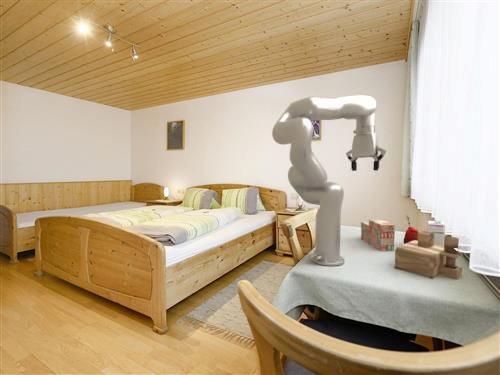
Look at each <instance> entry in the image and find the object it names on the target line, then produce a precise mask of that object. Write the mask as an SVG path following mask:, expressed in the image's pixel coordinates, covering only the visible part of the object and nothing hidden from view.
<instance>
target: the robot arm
mask: <svg viewBox="0 0 500 375" xmlns="http://www.w3.org/2000/svg"><path fill="white" fill-rule="evenodd" d="M376 109H377V101H376V100H375V98H374V97H372V96H370V95H362V94H361V95H347V96H336V97H333V96H331V97H329V96H316V95H315V96H307V97H305V98H302V99H298V100H296V101H294V102H292V103H291V104H289V106H288V107H287V108H286V109H285V111H284V112H283V113H282V115H280V117H279V119H278V120H277V121H276V123H275V124H274V125H273V127H272V131H271V132H272V133H271V135H272V138H273V141H274V142H275V143H277V144H279V145H290V151H289V161H290V164H291V166H290V167H289V169H288V172H287V179H288V182H289V184H290V186H291V187H292V188H293V190H294V191H295V192H296V193H297V194H298V196H299V197H300V198H301V199H302V200H303V201H304V202H306V203H307V204H310V205H315V206H317V205H318V206H319V207H318V210H317V211H316V214H315V240H314V241H315V248H314V249H313V253H311V254H308V255H307V259H308V260H309V261H310V260H311V261H312V262H314V263H315V264H318V265H321V266H322V265H323V266H327V267H328V266H329V267H331V266H333V267H334V266H340V265H343V264H345V258H344V257H343V256H342V255H341V217H342V216H341V214H342V206H343V201H344V196H345V195H344V188H343V186H341V185H340V184H338V183H337V182H334V181H333V182H332V181H328V173H327V172H326V170H325V168H324V167H323V165H322V164H321V163H320V161H319V159H318V158H317V157H316V156H315V154H314V152H313V150H312V142H313V141H312V140H313V135H314V125H313V122H312V121H334V120H340V119H345V120H350V121H351V120H355V123H356V124H355V125H356V126H355V127H356V128H355V130H353V134H354V136H353V139H352V146H351V149H350V150H348V151H347V152H345V155H346V157H347V159H348V160H349V162H350V163H351V164H350V165H351V166H350V167H351V168H350V169H351V171H352V172H354V171H356V172H357V170H358V169H357V165H358V163H357V160H358V159H361V158H363V159H365V158H372V159H373V160H374V161H373V171H379V169H380V161H381V160H382V159H383V158H384V156H385V155H386V152H387V150H386V149H383V148H381V147H379V144H378V137H377V133H376ZM379 152H380V154H379Z"/></svg>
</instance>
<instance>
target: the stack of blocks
mask: <svg viewBox="0 0 500 375" xmlns="http://www.w3.org/2000/svg"><path fill="white" fill-rule="evenodd" d="M395 227H396V225H395V224H393V223H391V222H389V221H386V220H383V219H369V220H368V221H362V222H360V233H361V234H360V239H361V240H362V241H363V242H365V243H366V244H369V246H372V247H373V248H375V249H377V250H378V251H379V252H395V236H396V235H395V234H396V233H395V231H396V229H395Z"/></svg>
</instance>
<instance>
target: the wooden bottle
mask: <svg viewBox="0 0 500 375" xmlns="http://www.w3.org/2000/svg"><path fill="white" fill-rule="evenodd" d="M459 239H460V238H459V237H455V236H448V235H447V236H446V235H445V237H444V251H446V253H450V254H455V255H456V253H458V252H459V250H458V251H456V250H455V249H454V248H458V249H459V245H458V244H459V242H460V241H459ZM456 259H457V258H452V257H447V256H446V267H447V268H452V269H455V266H456V263H457V262H456V261H457V260H456Z"/></svg>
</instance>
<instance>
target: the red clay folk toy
mask: <svg viewBox="0 0 500 375" xmlns="http://www.w3.org/2000/svg"><path fill="white" fill-rule="evenodd" d="M410 217H411V216H408V215H407V214H406V219H407V221H408V225H409V227H408V228H407V230H406V231H405V233H404V238H403V244H406V243H408V242H411V241H414V240H418V233H419V231H418V229H416V228H414V227H412V226H411V225H410V224H411V222H410V220H409V219H410Z"/></svg>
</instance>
